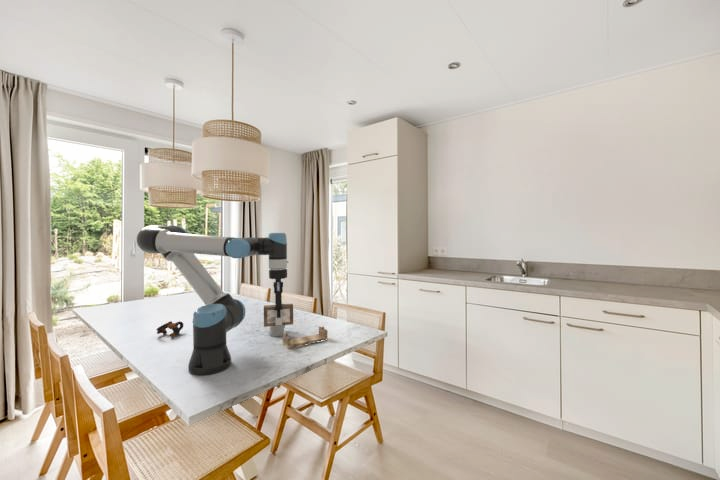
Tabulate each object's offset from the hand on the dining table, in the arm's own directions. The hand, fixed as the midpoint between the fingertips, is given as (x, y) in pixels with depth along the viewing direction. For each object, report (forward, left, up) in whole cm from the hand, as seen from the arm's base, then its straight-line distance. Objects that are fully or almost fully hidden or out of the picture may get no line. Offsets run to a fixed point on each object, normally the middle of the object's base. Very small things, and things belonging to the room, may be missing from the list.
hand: (278, 323), depth 132 cm
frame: (0, 0, 0) cm, 0 cm away
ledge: (+16, +8, -14) cm, 22 cm away
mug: (+10, +28, -14) cm, 33 cm away
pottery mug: (-37, +55, -14) cm, 68 cm away
